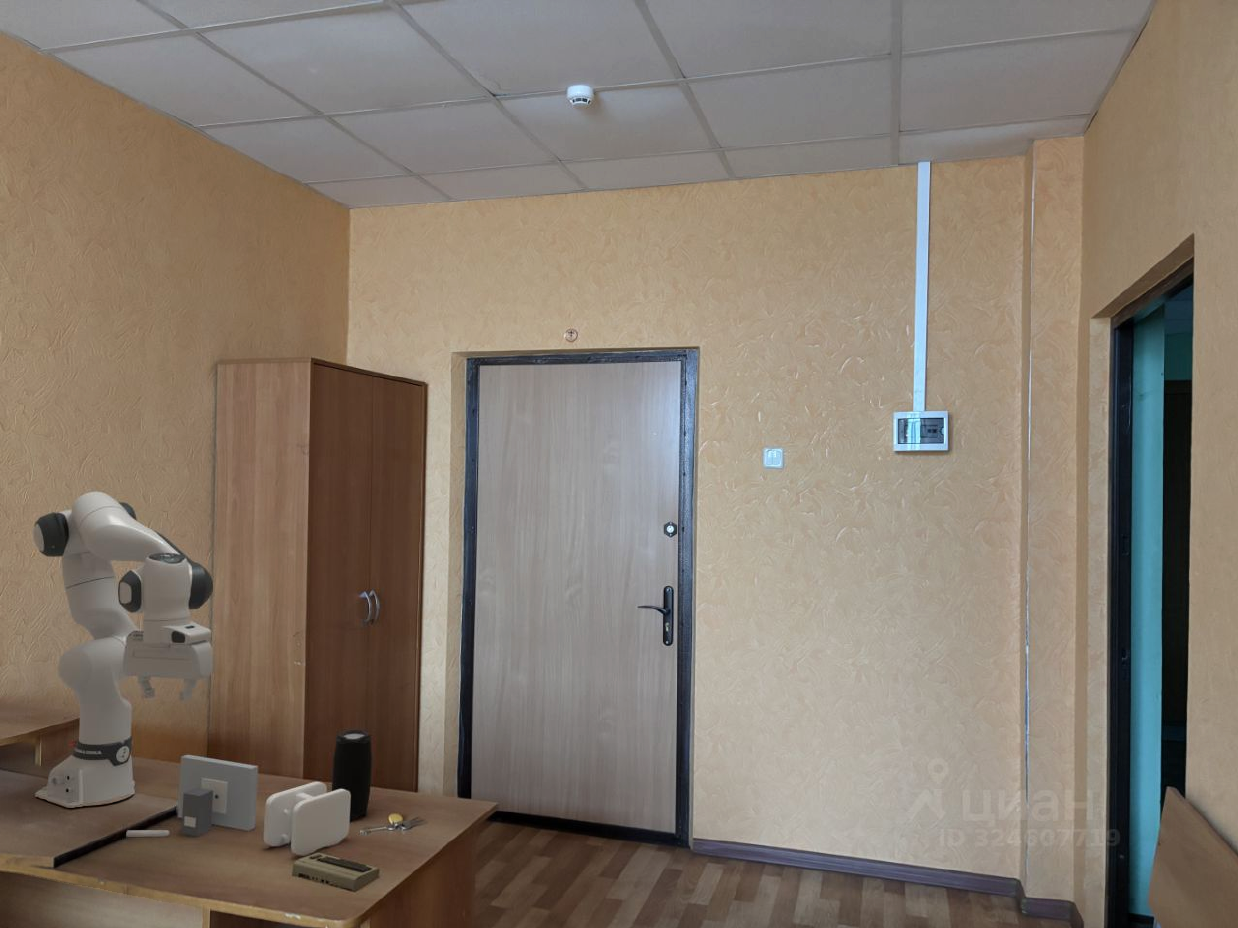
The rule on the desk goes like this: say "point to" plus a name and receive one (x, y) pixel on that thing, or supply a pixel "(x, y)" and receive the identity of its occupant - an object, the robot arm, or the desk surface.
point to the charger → (197, 812)
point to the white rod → (147, 833)
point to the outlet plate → (222, 789)
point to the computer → (335, 871)
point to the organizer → (307, 817)
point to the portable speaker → (353, 769)
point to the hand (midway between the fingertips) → (167, 698)
